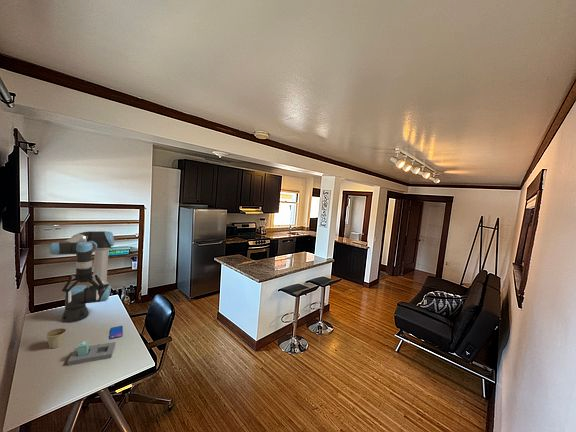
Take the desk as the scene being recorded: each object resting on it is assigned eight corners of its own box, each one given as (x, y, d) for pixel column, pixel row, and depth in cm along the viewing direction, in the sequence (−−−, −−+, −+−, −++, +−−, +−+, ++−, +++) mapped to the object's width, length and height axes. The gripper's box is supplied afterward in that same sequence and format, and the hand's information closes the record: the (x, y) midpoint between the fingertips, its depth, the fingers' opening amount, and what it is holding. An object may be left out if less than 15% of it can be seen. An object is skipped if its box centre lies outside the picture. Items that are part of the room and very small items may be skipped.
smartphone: (122, 325, 176) (122, 336, 164) (122, 326, 177) (122, 337, 164) (110, 327, 172) (109, 338, 160) (110, 328, 172) (109, 340, 160)
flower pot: (60, 339, 156) (60, 326, 155) (70, 343, 153) (70, 330, 153) (41, 347, 147) (41, 334, 147) (51, 352, 145) (51, 338, 144)
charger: (80, 355, 144) (80, 341, 143) (88, 353, 145) (88, 340, 145) (77, 359, 140) (77, 345, 139) (86, 358, 142) (86, 344, 141)
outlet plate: (75, 352, 146) (75, 348, 146) (115, 345, 155) (115, 341, 155) (67, 365, 135) (67, 361, 135) (111, 357, 144) (111, 353, 144)
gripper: (54, 270, 140) (54, 305, 142) (107, 268, 152) (107, 300, 154) (60, 266, 147) (59, 300, 149) (110, 264, 158) (109, 295, 160)
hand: (83, 300), depth 151 cm, fingers open, 13 cm apart
